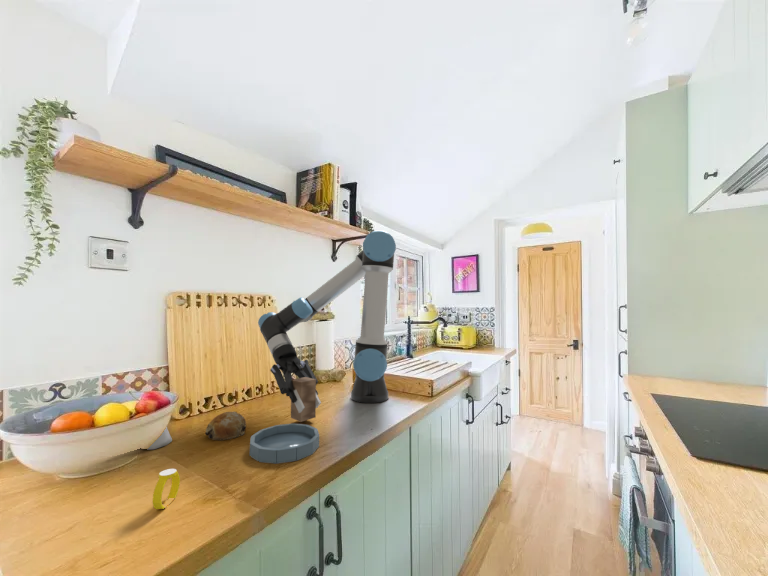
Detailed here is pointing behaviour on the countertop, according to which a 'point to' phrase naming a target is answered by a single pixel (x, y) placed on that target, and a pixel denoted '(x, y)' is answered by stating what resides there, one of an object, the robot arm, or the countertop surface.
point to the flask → (162, 440)
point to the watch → (160, 485)
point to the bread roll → (226, 426)
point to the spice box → (304, 398)
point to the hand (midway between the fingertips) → (310, 407)
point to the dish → (284, 443)
